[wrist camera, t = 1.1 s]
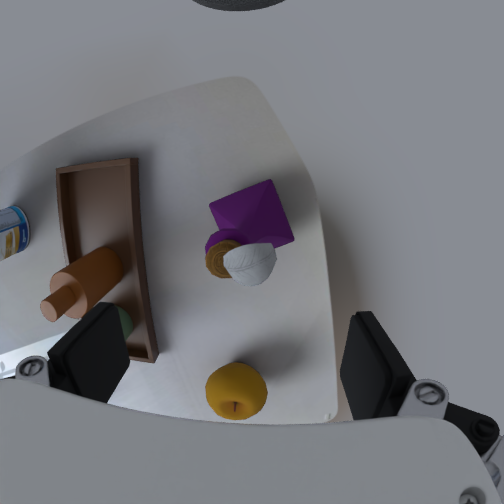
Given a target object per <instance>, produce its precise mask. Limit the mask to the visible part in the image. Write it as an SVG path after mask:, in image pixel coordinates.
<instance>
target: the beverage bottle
mask: <svg viewBox="0 0 504 504" xmlns="http://www.w3.org/2000/svg"><path fill="white" fill-rule="evenodd" d="M28 241H29V224H28V221H27V218H26V216H25V214H24V212H23V211H22V210H21V209H20V208H18V207H16V206H10V207H7V208H5V209H2V210H0V261H2V260H4V259H6V258H7V257H9V256H11V255H14V254H16V253H19V252H21V251H23V250H24V249H25V248H26V246H27V244H28Z"/></svg>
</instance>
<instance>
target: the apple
mask: <svg viewBox="0 0 504 504" xmlns="http://www.w3.org/2000/svg"><path fill="white" fill-rule="evenodd" d="M205 388H206V398H207V401H208V403H209V405H210V407H211V408H212V409H213V410H214V411H215V413H216V414H217V415H219V416H221V417H223V418H226V419H231V420H243V419H247V418H249V417H251V416H253V415H255V414H257V413H258V412H259V411H260V410H261V409H262V408H263V406H264V404H265V402H266V399H267V394H268V392H267V388H266V384H265V382H264V380H263V378H262V377H261V375H260V374H259V373H258V372H257V371H256V370H255V369H253V368H252V367H250V366H248V365H246V364H243V363H237V362H235V363H229V364H227V365H225V366H223V367H221V368H219V369H218V370H216V371H215V372H214V373H213V374H212V375H211V376H209V378H208V381H207V383H206V386H205Z"/></svg>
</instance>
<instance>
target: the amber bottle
mask: <svg viewBox="0 0 504 504" xmlns="http://www.w3.org/2000/svg"><path fill="white" fill-rule="evenodd" d="M122 277H123V265H122V262H121V260H120V258H119V256H118V255H117V254H116V253H115V252H114V251H113V250H111V249H109V248H106V247H99V248H97V249H95V250H93V251H91V252H90V253H88V254H86V255H85V256H83V257H81V258H80V259H78V260H76V261H75V262H73V263H71V264H70V265H68V266H66V267H65V268H63V269H62V270H60V271H58V272H57V273H55V274H54V275H53V277H52V278H51V281H50V292H51V295H49V296H48V297H47V298H45V299H44V300H43V301H42V302H41V304H40V308H41V312H42V314H43V315H44V317H45V318H46V319H47V320H49V321H51V322H55V321H56V320H57V319H59V318H60V317H61V316H62V315H63V314H65V315H66V316H68V317H71V318H81V317H83V316H84V315H85V314H86V313H87V312H88V311H89V310H90V309H91V308H92V307H93V306H94V305H96V304H97V303H98V302H99V301H100V300H101V299H102V298H103V297H104V296H105V295H106V294H107V293H108V292H110V291H111V290H112V289H113V288H114V287H115V286H116V285H117V284H118V283H119V282H120V281H121V279H122Z"/></svg>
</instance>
